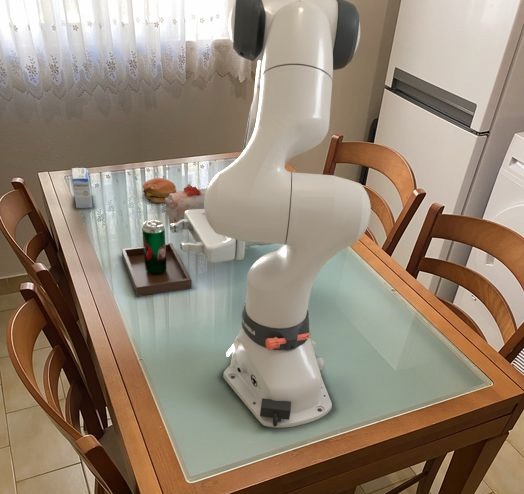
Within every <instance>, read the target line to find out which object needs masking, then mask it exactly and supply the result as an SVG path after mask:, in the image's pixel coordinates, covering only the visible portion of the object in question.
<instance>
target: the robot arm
mask: <svg viewBox="0 0 524 494" xmlns="http://www.w3.org/2000/svg"><path fill="white" fill-rule="evenodd" d="M228 33H229V38H230V42H231V43H232V48H233V50H234V52H235V53H236V54H237V55H238V56H239V57H240V58H243V59H246V60H247V61H248V60H249V61H251V62H255V61H257V64H256V71H255V81H254V90H253V98H252V101H251V102H252V103H251V105H250V108H249V112H248V118H247V123H246V128H245V135H244V141H243V146H242V151H241V154H240V155H239V156H238V157H237V158H236V159H235V160H234V161H233V162H232V163H231V164H229V165H227V167H225V168H224V169H222V170H220V171H218V173H216V174H215V175H214V176H213V178H212V179H211V180H210V182H209V184H208V186H207V187H206V188H207V190H206V193H205V198H204V209H192V210H187V211H185V212H184V219H182V220H180V221H179V222H177V223H173V222H171V223H170V224H169V230H170V233H173V234H175V233H179V232H180V231H181V230H188V231H189V234H190V235H191V236H192V239H193V240H194V243H192V242H189V241H183V242H180V244H179V246H180V250H181V252H182V253H189V252H190V253H194V254H202V255H203V257H204V258H205V260H206V261H207V262H209V263H223V262H229V261H233V260H234V259H235V260H236V261H240V260H244V258H245V254H246V249H247V248H250V247H252V246H261V247H262V246H269V245H281V247H279V248H278V249H275V250H272V251H271V252H268V253H266V254H264V255H262V256H260V257H259V258H258V259H257V260H256V261H255V262H254V263H253V264H251V266H250V268H249V270H248V272H247V277H246V291H245V292H246V293H245V302H244V303H243V306H242V311H241V328H240V331H239V332H238V334H237V336H236V337H235V338H234V340H233V344H232V345H231V347H230V348H229V349H228V350H227V351H226V357H230V355H231V359H230V365H229V366H227V368H226V369H224V371H223V375H222V378H223V380H224V381H225V382H226V383H227V384H228V385H229V387H230V388H231V389H232V390H233V392H234V393H235V394H236V395H237V396H238V397H239V399H240V400H241V401H242V402H243V403H244V405H245V406H246V407H247V409H248V410H249V411H250V412H251V413H252V415H253V416H254V417H255V418H256V420H258V422H259V423H260V424H261V425H262V426H264V427H268V428H277V429H280V428H281V429H282V428H292V427H296V426H297V427H298V426H302V425H305V424H309V423H312V422H314V421H315V422H316V421H318V420H319V419H322V418H324V417H325V416H326V415H327V414H329V412H330V411H331V410H332V407H333V403H332V400H331V398H330V396H329V393H328V390H327V387H326V385H325V382H324V380H323V377H322V373H321V371H323V370H325V366H326V365H325V364H326V363H325V360H324V358H323V357H317V356H316V353H315V350H314V348H316V341H315V340H312V339H311V336H310V335H312V333H311V332H310V324H311V323H310V321H311V320H310V315H309V303H310V297H311V293H312V289H313V286H314V283H315V280H316V278H317V276H318V275H319V273H320V271H321V270H322V269H323V267H324V266H325V265H326V264H327V263H328V262H329V261H330V260H331V259H332V258H333V257H335V256H336V255H338V253H340V252H342V251H343V250H345V249H347V248H349V247H351V246H353V245H355V244H356V243H357V242H358V241H359V240H360V239H361V238H362V237H363V236H364V234H365V233H366V231H367V230H368V227H369V226H370V225H369V224H370V222H371V217H372V205H371V200H370V197H369V194H368V192H367V190H366V189H365V187H364V186H363V185H362V184H361V183H360V182H357V181H354V180H350V179H347V178H344V177H340V176H337V175H333V174H331V175H330V174H320V173H307V172H297V171H296V172H295V171H291V170H288V169H286V165H287V163H288V162H289V161H290V160H291V159H293V158H295V157H297V156H299V155H301V154H304V153H307V152H310V151H311V150H313V149H314V148H317V147H318V146H319V145H320V144H321V143H322V142H323V141H324V140H325V138H326V136H327V135H328V133H329V129H330V121H331V120H330V119H331V108H332V107H331V106H332V93H333V79H334V78H333V76H334V71H337V70H341V69H344V68H346V67H347V66H348V65H349V64H350V63H351V62H352V60H353V58H354V55H355V53H356V51H357V50H358V47H359V43H360V39H361V23H360V13H359V11H358V9H357V7H356V5H355V4H354V3H352V2H350V1H348V0H234V2H233V4H232V7H231V9H230V12H229V16H228Z"/></svg>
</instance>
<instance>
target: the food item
mask: <svg viewBox="0 0 524 494" xmlns="http://www.w3.org/2000/svg"><path fill="white" fill-rule="evenodd" d="M206 190H207V187H206V188H197V187H196V186H192V185H191V183H188V184H187V185H186V186H185V187H183V190H180V191H176V192H175V193H171V194H169V197H168V198H167V197H166V199H165V213H166V215H167V217H168V219H169V220H170V222H171V223H177V222H179V221H180V220H182V219H184V212H185V211H187V210H192V209H204V198H205V193H206Z"/></svg>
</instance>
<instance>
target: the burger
mask: <svg viewBox="0 0 524 494" xmlns="http://www.w3.org/2000/svg"><path fill="white" fill-rule="evenodd" d="M142 189H143V190H142V192H143V196H144V197H145V199H147V200H150V202H151V203H156V204H166V202H165V199H166V197H167V198H168V197H169V194H171V193H175V192H177V186H176V185H175V183H174V182H172V181H171V180H169V179H167V178H163V177H155V178H151V179H148V180H146V181H145V182H144V183H143V184H142Z"/></svg>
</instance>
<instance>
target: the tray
mask: <svg viewBox="0 0 524 494" xmlns="http://www.w3.org/2000/svg"><path fill="white" fill-rule="evenodd" d="M165 244H166V265H167V268H166V270H165V271H164V272H163V273H161V274H151V273H149V272H147V271H146V269H145V261H144V248H143V246H137V247H136V246H135V247H128V248H121V258H122V261H123V263H124V266H125V269H126V271H127V274H128V276H129V279H130V282H131V284H132V286H133V289H134V292H135V294H136V295H135V296H136V297H142V296H150V295H156V294H162V293H163V294H164V293H170V292H177V291H181V290H182V291H183V290H188V289H192V278H191V276H190V275H189V272H188V271H187V268H186V267H185V265H184V263H183V261H182V259H181V258H180V255H179V254H178V252H177V250H176V248H175V245H174V244H173V243H172V242H169V243H165Z"/></svg>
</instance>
